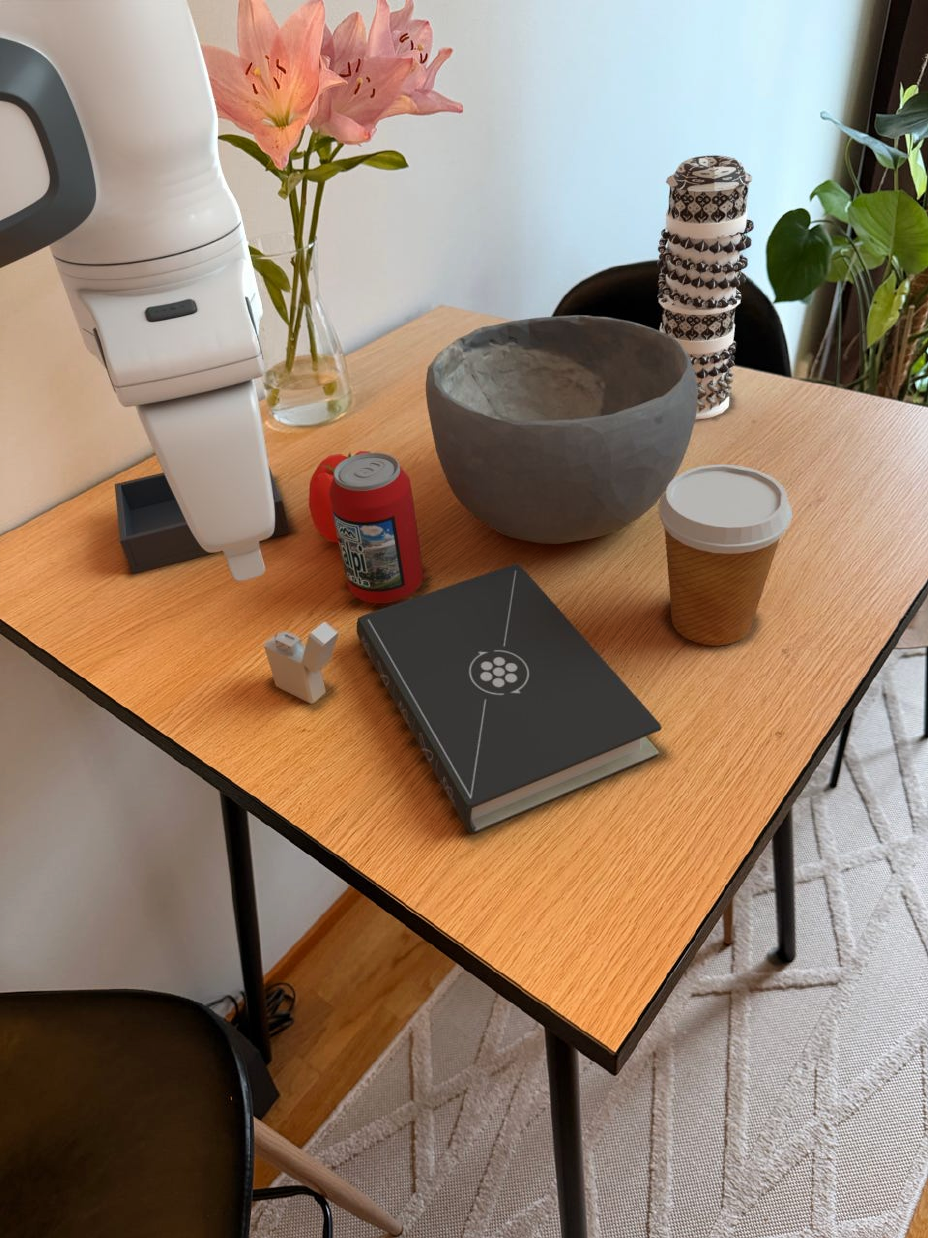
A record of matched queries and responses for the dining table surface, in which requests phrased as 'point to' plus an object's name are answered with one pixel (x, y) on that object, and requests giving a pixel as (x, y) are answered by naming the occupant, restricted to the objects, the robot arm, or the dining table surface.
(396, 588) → the beverage can
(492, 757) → the book
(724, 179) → the patterned white cylinder
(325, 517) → the tomato
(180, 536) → the tray
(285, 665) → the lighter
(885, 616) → the dining table surface
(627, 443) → the bowl
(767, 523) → the disposable coffee cup
